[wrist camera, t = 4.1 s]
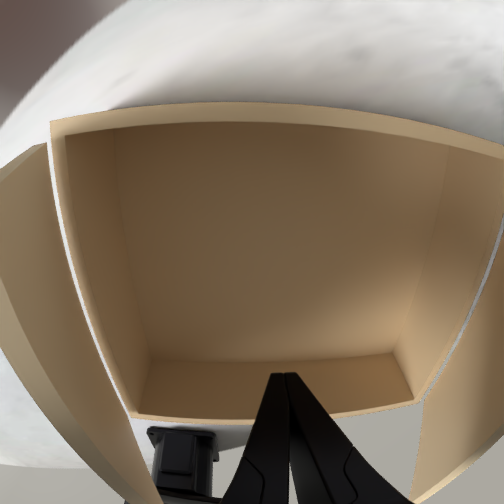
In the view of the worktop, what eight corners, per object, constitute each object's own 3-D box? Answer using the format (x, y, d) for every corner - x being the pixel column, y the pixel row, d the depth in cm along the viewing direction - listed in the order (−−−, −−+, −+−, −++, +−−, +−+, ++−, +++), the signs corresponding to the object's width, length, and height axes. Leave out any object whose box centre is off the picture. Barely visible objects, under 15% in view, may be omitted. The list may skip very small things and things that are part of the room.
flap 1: (177, 529, 9) (167, 532, 9) (127, 415, 15) (119, 417, 15) (-21, 202, 2) (-53, 214, 2) (46, 142, 8) (33, 145, 8)
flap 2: (424, 400, 16) (430, 401, 15) (407, 505, 10) (415, 506, 9) (518, 167, 9) (527, 170, 9) (612, 229, 3) (621, 234, 3)
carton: (396, 352, 21) (420, 402, 16) (146, 359, 20) (131, 417, 15) (456, 131, 13) (518, 150, 9) (105, 111, 12) (49, 121, 8)
